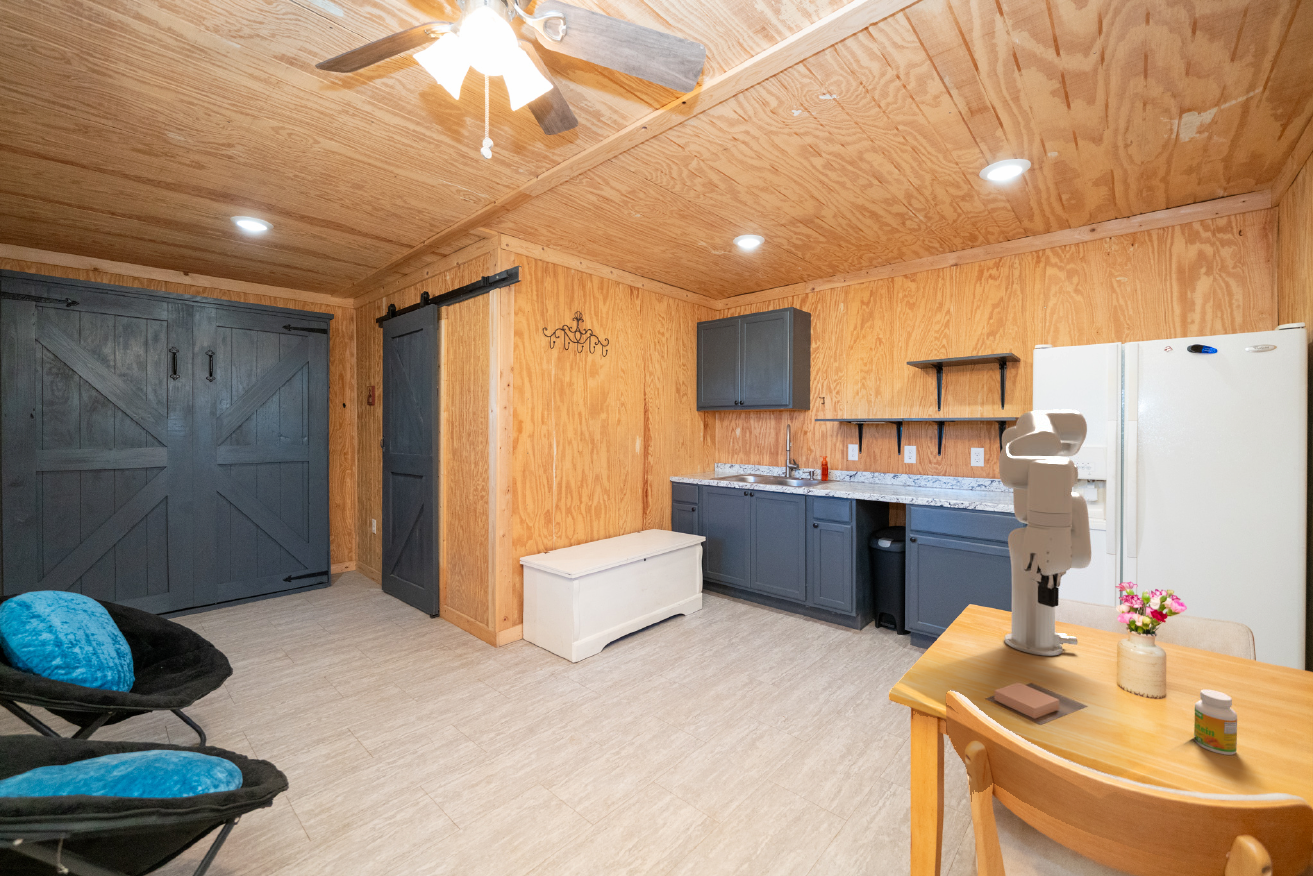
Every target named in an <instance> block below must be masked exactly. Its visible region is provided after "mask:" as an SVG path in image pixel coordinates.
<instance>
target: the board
mask: <svg viewBox="0 0 1313 876" xmlns="http://www.w3.org/2000/svg"><path fill="white" fill-rule="evenodd" d="M1025 685H1026V686H1028V687H1030V688H1033V689H1035V690H1037V691H1040V692H1042V693H1045V694H1047V695H1049V696H1052V697H1054V698H1056V699H1059V710H1056V711H1054V712H1051V713H1048V714H1046V715H1043V716H1041V717H1038V718H1035V719H1034V718H1032V717H1030V716H1028V715H1025V714H1023V713H1021V712H1019V711H1017V710H1015V709H1013V708H1011V707H1008V706H1006V705H1004V704H1002V703H1000V702H998V701H996V700H995V694H994V695H991V696H988V697H986V698H984V699H985V700H987V701H989V702H991V703H993V704H995V705H998V706H999V707H1000V708H1003V709H1005V710H1008V711H1010V712H1012V713H1014V714H1016V715H1019V716H1020V717H1022V718H1024V719H1027V720H1029V721H1031V722H1033V723H1035V724H1037V725H1038V726H1042V725H1044V724H1047V723H1050V722H1052V721H1055V720H1057V719H1060V718H1062V717H1065V716H1067V715H1070V714H1072V713H1074V712H1077V711H1080V710H1082V709H1084V708H1087V707H1088V705H1086V704H1084V703H1082V702H1078V701H1076V700H1074V699H1072V698H1069V697H1067V696H1065V695H1062V694H1060V693H1057V692H1055V691H1052V690H1050V689H1049V688H1045V687H1043V686H1040V685H1038V684H1035V683H1034V682H1030V683H1027V684H1025Z"/></svg>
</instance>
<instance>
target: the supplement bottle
mask: <svg viewBox="0 0 1313 876" xmlns="http://www.w3.org/2000/svg"><path fill="white" fill-rule="evenodd" d="M1199 697H1200V699H1199V700H1198V701H1196V702H1195V703H1194V728H1193V729H1194V730H1193V731H1194V732H1193V735H1194V737H1193V740H1194V742H1195V743H1196V744H1197V745H1198V746H1200V747H1201V748H1203V749H1206V750H1208V751H1210V752H1213V753H1216V754H1220V755H1225V756H1230V755H1235V754H1236V753H1237V747H1238V746H1237V745H1238V744H1237V743H1238V741H1237V740H1238V739H1237V738H1238V735H1237V734H1238V714H1237V712H1236V711H1235V710H1234V709H1233V708H1231V707H1232V705H1233V698H1232V697H1231V696H1230V695H1229V694H1226V693H1224V692H1221V691H1217V690H1213V689H1207V688H1206V689H1201V690H1200V694H1199Z"/></svg>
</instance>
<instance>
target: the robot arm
mask: <svg viewBox="0 0 1313 876" xmlns="http://www.w3.org/2000/svg"><path fill="white" fill-rule="evenodd" d="M1087 432H1088V425H1087V422H1086V418H1085V417H1084V415H1083V414H1082V413H1081V412H1080V411H1078V410H1074V409H1073V410H1072V409H1061V410H1059V409H1053V410H1052V409H1051V410H1050V409H1049V410H1044V409H1043V410H1031V411H1027V412H1025V413H1023V414H1022V415H1020V416H1019V417H1018V419H1017V421H1016V423H1015V425H1014V426H1011V427H1009V428H1006V429H1005V430H1004V431H1003V433H1002V435H1001V446H1002V449H1001V451H1000V453H999V458H998V472H999V473H998V474H999V479H1000V482H1001V483H1002V484H1003V486H1004V487H1006V488H1009V489H1012V493H1013V510H1014V511H1013V512H1014V515H1015V516H1014V517H1015V518H1016V520H1017V521H1019V522H1020V523H1023V524H1027V525H1026V527H1019V528H1018V527H1017V528H1015V529H1013V530H1012V531H1010V532H1009V534H1008V537H1007V543H1008V544H1007V545H1008V551H1009V558H1010V565H1011V632H1010V633H1007V634H1005V636H1004V643H1005V644H1006V645H1008V646H1009V647H1011V648H1013V649H1015V650H1018V651H1020V652H1024V653H1028V654H1031V655H1036V656H1037V655H1038V656H1045V657H1047V656H1049V657H1051V656H1052V657H1053V656H1057V655H1060V654H1062V653H1063V645H1064V644H1068V645H1074V646H1075V645H1078V643H1079V641H1078V638H1077V637H1076V636H1070V635H1069V636H1068V635H1067V634H1066V633H1058V632H1057V631H1056V607H1059V593H1060V592H1059V591H1060V590H1059V589H1060V586H1061V580H1062V577H1063V576H1064V575H1066V574H1067V571H1069V570H1070V569H1079V570H1080V569H1086V568H1087V567H1088V566H1090V564H1091V561H1092V543H1091V531H1090V520H1089V512H1088V511H1089V510H1088V504H1087V501H1086V499H1085V498H1084V496H1083V495H1082V494H1080V493H1078V492H1076V491H1073V487H1074V486H1075V485H1076V484H1077V483H1078V479H1079V469H1078V466H1077V465H1076V464H1075V462H1074V461H1072V460H1071V458H1068V457H1073V456H1075V455H1077V454H1078V453H1079V452H1080V450H1081V447H1082V446H1083V444H1084V442H1085V440H1086V439H1087V438H1086V437H1087V434H1088V433H1087Z"/></svg>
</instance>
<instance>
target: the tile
mask: <svg viewBox="0 0 1313 876" xmlns="http://www.w3.org/2000/svg"><path fill="white" fill-rule="evenodd" d="M994 695H995V700H996V701H998V702H1000V703H1002V704H1004V705H1006V706H1008V707H1011V708H1013V709H1015V710H1017V711H1019V712H1021V713H1023V714H1025V715H1028V716H1030V717H1032V718H1034V719H1035V718H1038V717H1041V716H1043V715H1046V714H1048V713H1051V712H1054V711H1056V710H1059V699H1056V698H1054V697H1052V696H1049V695H1047V694H1045V693H1042V692H1040V691H1037V690H1035V689H1033V688H1030V687H1028V686H1026V684H1023V683H1022V682H1021V683H1020V682H1015V683H1013V684H1010V685H1007V686H1004V687H1001V688H997V689H994Z"/></svg>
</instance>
